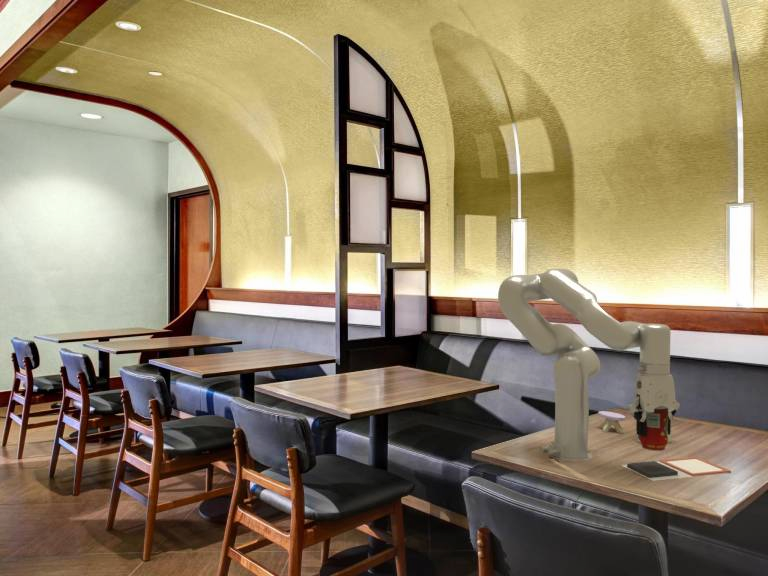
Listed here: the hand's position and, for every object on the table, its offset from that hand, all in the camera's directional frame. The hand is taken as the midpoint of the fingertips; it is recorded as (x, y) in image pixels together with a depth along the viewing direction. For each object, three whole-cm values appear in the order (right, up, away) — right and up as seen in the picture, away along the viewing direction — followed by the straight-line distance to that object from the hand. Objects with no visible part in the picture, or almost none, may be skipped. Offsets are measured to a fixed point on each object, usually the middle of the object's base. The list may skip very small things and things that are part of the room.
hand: (653, 433), depth 168 cm
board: (+7, -11, +2) cm, 13 cm away
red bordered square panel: (+13, -10, +4) cm, 17 cm away
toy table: (+6, -10, +47) cm, 49 cm away
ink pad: (0, -10, +1) cm, 10 cm away
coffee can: (+15, -11, +33) cm, 37 cm away
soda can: (0, -4, 0) cm, 4 cm away
